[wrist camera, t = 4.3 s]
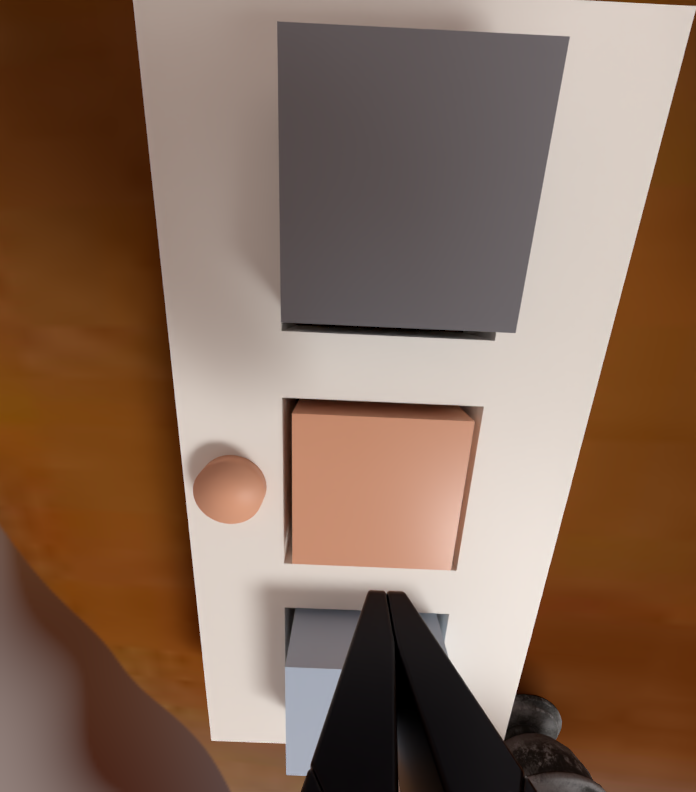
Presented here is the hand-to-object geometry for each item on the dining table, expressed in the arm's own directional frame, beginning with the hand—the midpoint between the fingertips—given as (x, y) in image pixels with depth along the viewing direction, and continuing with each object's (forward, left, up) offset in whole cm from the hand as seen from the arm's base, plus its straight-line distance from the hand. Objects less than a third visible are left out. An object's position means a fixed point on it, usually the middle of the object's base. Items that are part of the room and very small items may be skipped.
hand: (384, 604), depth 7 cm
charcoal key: (-8, -5, -6) cm, 11 cm away
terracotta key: (0, 0, -7) cm, 7 cm away
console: (0, 0, -8) cm, 8 cm away
